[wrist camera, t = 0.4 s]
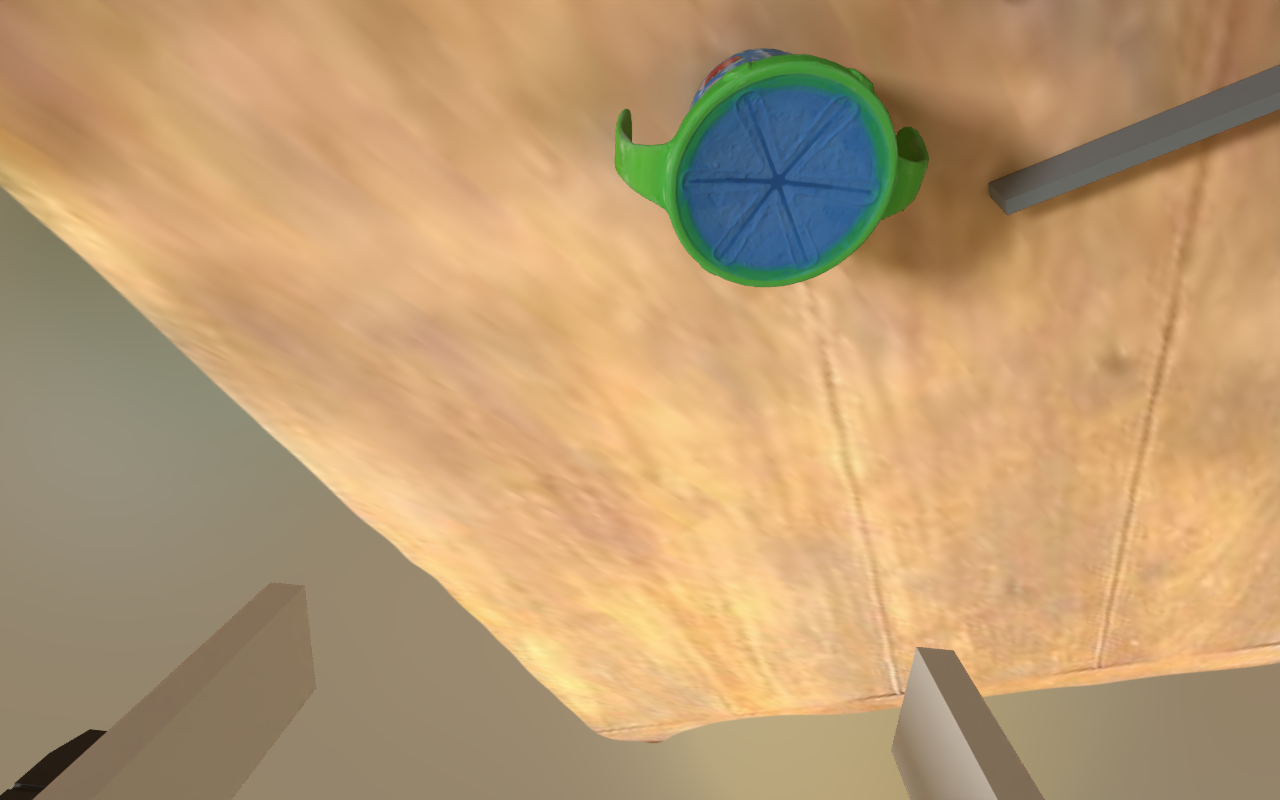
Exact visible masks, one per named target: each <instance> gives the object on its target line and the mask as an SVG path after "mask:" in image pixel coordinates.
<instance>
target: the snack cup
mask: <svg viewBox="0 0 1280 800" xmlns="http://www.w3.org/2000/svg"><path fill="white" fill-rule="evenodd" d="M615 140H616V144H615V168H616V170H617V173H618V174H619V175H620V177H621V178H622V179H623V180H624V181H625V182H626V184H627V185H629V187H630V188H632V189H633V190H634V191H636V192H637V193H639V194H640V195H642V196H643V197H645V198H646V199H648V200H650V201H652V202H654V203H656V204H658V205H659V206H660V207H662V208H664V209H665V210H666V211H667V213H668V214H669V216H670V219H671V222H672V225H673V228H674V230H675V232H676V234H677V236H678V238H679V240H680V242H681V244H682V245H683V246H684V248H685V249H686V251H687V252H688V253H689V254H690V255H691V256H692V258H693V259H695V260H696V261H697V262H698V263H699V264H700V265H701V267H702V268H703V269H705V270H706V271H708V272H709V273H711V274H714V275H717V276H719V277H721V278H723V279H726V280H728V281H731V282H734V283H738V284H741V285H746V286H754V287H778V286H785V285H790V284H794V283H798V282H802V281H805V280H808V279H811V278H814V277H816V276H818V275H820V274H822V273H824V272H826V271H828V270H829V269H831V268H833V267H835V266H836V265H838V264H839V263H841V262H842V261H843V260H845V259H846V258H847V257H848V256H850V255H851V254H852V253H853V252H855V251H856V250H857V249H858V248H859V247H860V246H861V245H862V244H863V243H864V241H865V240H866V239H867V238H868V237H869V236H870V234H871V233H872V232H873V231H874V229H875V227H876V226H877V225H878V223H879V221H880V220H883V219H884V218H886V217H889V216H891V215H893V214H896V213H897V212H899V211H904V209H905V208H906V207H907V206H908V205H909V204H910V203H911V202H912V201H913V200H914V199H915V197H916V195H917V193H918V191H919V189H920V186H921V182H922V180H923V177H924V174H925V172H926V170H927V166H928V161H929V157H928V153H927V150H926V146H925V144H924V142H923V139H922V137H921V136H920V135H919V132H918V131H917V130H915V129H913V128H912V127H905V128H902V129H901V130H899V131H898V133H897V135H895V131H894V127H893V124H892V121H891V118H890V115H889V113H888V111H887V110H886V108H885V106H884V105H883V103H882V102H881V101H880V100H879V98H878V97H877V95H876V94H875V93H874V88H873V83H872V82H871V81H870V80H869V79H867V78H866V77H865V76H864V75H863V74H861V73H860V72H858V71H857V70H856V69H850V68H845V67H843V66H841V65H839V64H837V63H835V62H832V61H829V60H826V59H822V58H818V57H815V56H812V55H804V54H803V55H796V54H791V53H788V52H783V51H781V50H776V49H754V50H746V51H743V52H741V53H738V54H735V55H734V56H732V57H730V58H728V59H727V60H725V61H724V62H722V63H721V64H719V65H718V66H717V67H716V68H715V69H714V70H713V71H712V72H711V73H710V74H709V75H708V76H707V77H706V79H705V80H704V81H703V83H702V84H701V86H700V88H699V89H698V91H697V93H696V95H695V97H694V99H693V101H692V104H691V107H690V110H689V112H688V114H687V115H686V117H685V118H684V120H683V122H682V124H681V126H680V128H679V130H678V132H677V134H676V135H675V137H674V138H673V139H672V140H671V141H670V142H668V143H665V144H659V145H640V144H633V143H632V121H631V113H630V111H629V110H628V109H624V110H623V111H622V112H621V113H620V115H619V117H618V121H617V124H616V135H615Z"/></svg>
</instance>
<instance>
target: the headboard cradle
mask: <svg viewBox="0 0 1280 800" xmlns="http://www.w3.org/2000/svg"><path fill="white" fill-rule="evenodd" d="M1279 109H1280V65H1278V66H1275V67H1273V68H1271V69H1268V70H1266V71H1263V72H1261V73H1258V74H1256V75H1253V76H1251V77H1248V78H1246V79H1244V80H1241V81H1239V82H1236V83H1234V84H1231V85H1229V86H1226V87H1224V88H1222V89H1219V90H1217V91H1214V92H1212V93H1209V94H1207V95H1204V96H1202V97H1199V98H1197V99H1195V100H1192V101H1190V102H1187V103H1185V104H1182V105H1180V106H1177V107H1175V108H1172V109H1170V110H1168V111H1165V112H1163V113H1160V114H1158V115H1155V116H1153V117H1150V118H1148V119H1146V120H1143V121H1141V122H1138V123H1136V124H1133V125H1131V126H1128V127H1126V128H1123V129H1121V130H1119V131H1116V132H1114V133H1111V134H1109V135H1106V136H1104V137H1101V138H1099V139H1096V140H1094V141H1092V142H1089V143H1087V144H1084V145H1082V146H1079V147H1077V148H1074V149H1072V150H1070V151H1067V152H1065V153H1062V154H1060V155H1057V156H1055V157H1052V158H1050V159H1047V160H1045V161H1043V162H1040V163H1038V164H1035V165H1033V166H1030V167H1028V168H1025V169H1023V170H1020V171H1018V172H1016V173H1013V174H1011V175H1008V176H1006V177H1003V178H1001V179H998V180H996V181H994V182H991V183H989V189H990V196H991V198H992V199H993V200H994V202H995V203H996V204H997V205H998V206H999V207H1000V208H1001V209H1002V210H1003V211H1004V212H1005V213H1006V214H1007V215H1009V214H1012V213H1014V212H1017V211H1020V210H1022V209H1025V208H1027V207H1030V206H1032V205H1035V204H1038V203H1040V202H1043V201H1045V200H1048V199H1050V198H1053V197H1055V196H1058V195H1061V194H1063V193H1066V192H1068V191H1071V190H1073V189H1076V188H1079V187H1081V186H1084V185H1086V184H1089V183H1091V182H1094V181H1097V180H1099V179H1102V178H1104V177H1107V176H1109V175H1112V174H1115V173H1117V172H1120V171H1122V170H1125V169H1127V168H1130V167H1133V166H1135V165H1138V164H1140V163H1143V162H1145V161H1148V160H1151V159H1153V158H1156V157H1158V156H1161V155H1163V154H1166V153H1169V152H1171V151H1174V150H1176V149H1179V148H1181V147H1184V146H1187V145H1189V144H1192V143H1194V142H1197V141H1199V140H1202V139H1205V138H1207V137H1210V136H1212V135H1215V134H1217V133H1220V132H1223V131H1225V130H1228V129H1230V128H1233V127H1235V126H1238V125H1240V124H1243V123H1246V122H1248V121H1251V120H1253V119H1256V118H1258V117H1261V116H1264V115H1266V114H1269V113H1271V112H1274V111H1276V110H1279Z"/></svg>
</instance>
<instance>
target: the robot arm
mask: <svg viewBox="0 0 1280 800" xmlns="http://www.w3.org/2000/svg"><path fill="white" fill-rule="evenodd" d="M315 689H316V684H315V675H314V666H313V657H312V648H311V639H310V630H309V620H308V612H307V603H306V594H305V586H302V585H292V584H282V583H269V584H268V585H267V586H266V587H265V588H264V589H263V590H262V591H260V592H259V593H258V594H257V595H256V596H255V597H254V598H253V599H252V600H251V601H250V602H248V604H246V605H245V606H244V607H243V608H242V609H241V610H240V611H239V612H237V614H235V615H234V616H233V617H232V618H231V619H230V620H229V621H228V622H227V623H225V624H224V625H223V626H222V627H221V628H220V629H219V630H218V631H217V632H216V633H215V634H213V636H211V637H210V638H209V639H208V640H207V641H206V642H205V643H204V644H202V645H201V646H200V647H199V648H198V649H197V650H196V651H195V652H194V653H193V654H192V655H190V657H188V658H187V659H186V660H185V661H184V662H183V663H182V664H181V665H179V666H178V667H177V668H176V669H175V670H174V671H173V672H172V673H171V674H170V675H169V676H167V677H166V678H165V679H164V680H163V681H162V682H161V683H160V684H159V685H158V686H157V687H155V688H154V689H153V690H152V691H151V692H150V693H149V694H148V695H147V696H146V697H144V698H143V699H142V700H141V701H140V702H139V703H138V704H137V705H136V706H135V707H133V708H132V709H131V710H130V711H129V712H128V713H127V714H126V715H125V716H124V717H123V718H121V719H120V720H119V721H118V722H117V723H116V724H115V725H114V726H113V727H112V728H111V729H109V731H100V730H91V729H90V730H88V731H86V732H85V733H83V734H82V735H80V736H78V737H76V738H75V739H73V740H71V741H69V742H68V743H66V744H64V745H63V746H61V747H59V748H57V749H56V750H54V751H52V752H51V753H49V754H48V755H47V756H46V757H44V758H43V759H42V760H41V761H40V762H39V763H37V764H36V765H35V766H34V767H33V768H32V769H31V770H30V771H28V772H27V773H26V774H25V775H24V776H23V777H21V778H20V779H19V780H18V781H17V782H15V785H14V787H13V788H12V789H11V790H10V789H7V790H6V791H5V792H4V793H3V794H2V795H0V800H232V798H233V797H234V796H235V794H236V793H237V792H238V790H239V789H240V788H241V786H242V785H243V784H244V783H245V781H246V780H247V779H248V777H249V776H250V775H251V773H252V772H253V771H254V769H255V768H256V767H257V765H258V764H259V763H260V762H261V760H262V759H263V758H264V756H265V755H266V754H267V752H268V751H269V750H270V748H271V747H272V746H273V744H274V743H275V742H276V740H277V739H278V738H279V737H280V735H281V734H282V732H283V731H284V730H285V729H286V727H287V726H288V725H289V723H290V722H291V721H292V719H293V718H294V717H295V715H296V714H297V713H298V711H299V710H300V709H301V707H302V706H303V705H304V703H305V702H306V701H307V700H308V698H309V697H310V696H311V694H312V693H313V691H314V690H315ZM891 751H892V753H893V756H894V758H895V761H896V764H897V766H898V769H899V771H900V774H901V776H902V779H903V782H904V784H905V787H906V790H907V792H908V795H909V798H910V800H1045V799H1044V798H1043V796H1042V794H1041V793H1040V791H1039V790H1038V788H1037V786H1036V785H1035V783H1034V781H1033V780H1032V778H1031V776H1030V775H1029V773H1028V771H1027V770H1026V768H1025V767H1024V765H1023V764H1022V762H1021V760H1020V758H1019V757H1018V755H1017V753H1016V752H1015V750H1014V749H1013V747H1012V745H1011V744H1010V742H1009V740H1008V739H1007V737H1006V736H1005V734H1004V732H1003V731H1002V729H1001V727H1000V726H999V724H998V722H997V721H996V719H995V718H994V716H993V714H992V713H991V711H990V709H989V708H988V706H987V705H986V703H985V701H984V700H983V698H982V696H981V695H980V693H979V691H978V690H977V688H976V686H975V685H974V683H973V681H972V680H971V678H970V676H969V675H968V673H967V672H966V670H965V668H964V667H963V665H962V663H961V662H960V660H959V658H958V657H957V655H956V654H955V652H954V651H953V650H943V649H933V648H923V647H916V650H915V655H914V659H913V663H912V667H911V671H910V675H909V679H908V683H907V687H906V691H905V696H904V700H903V704H902V708H901V712H900V716H899V720H898V724H897V729H896V732H895V736H894V741H893V745H892V749H891Z"/></svg>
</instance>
